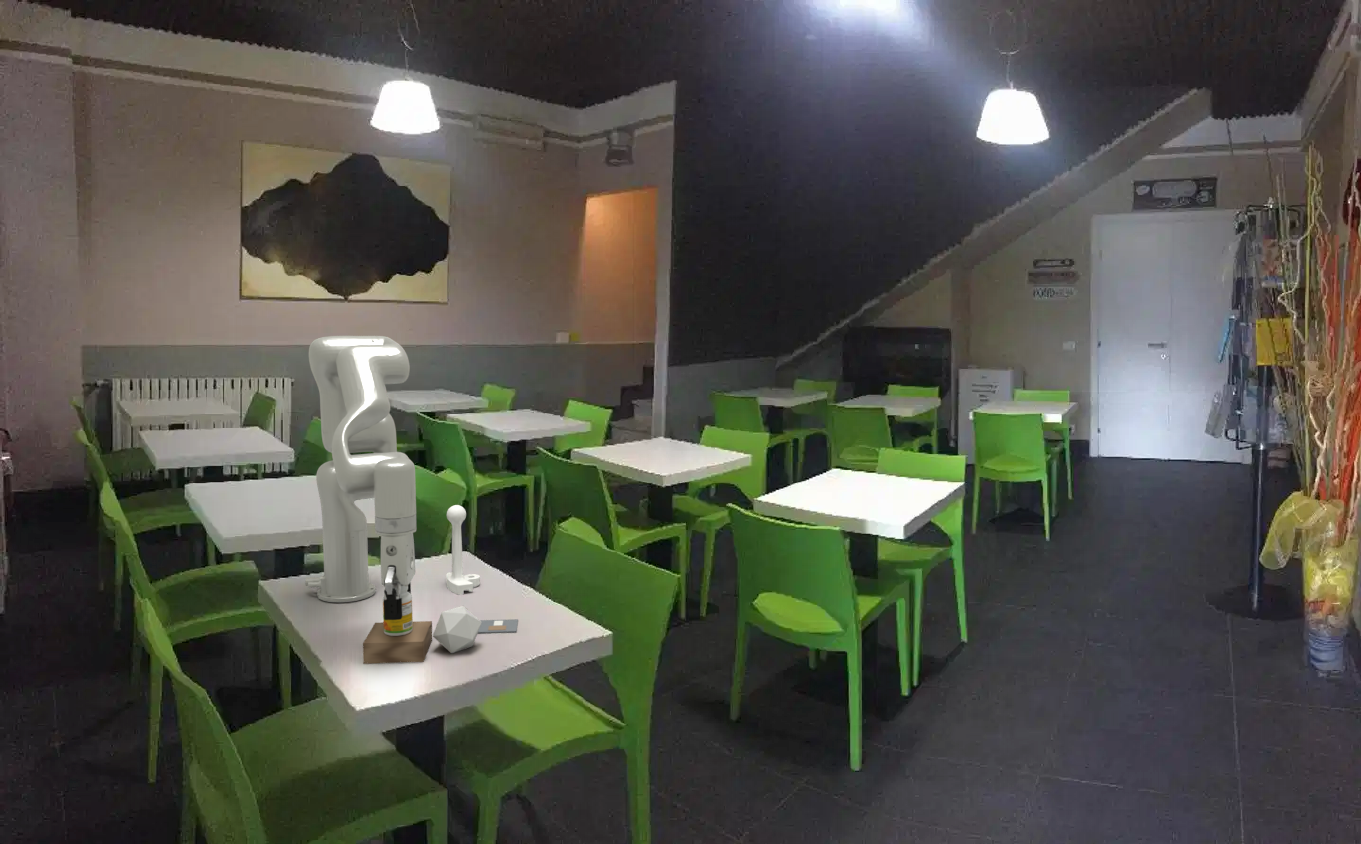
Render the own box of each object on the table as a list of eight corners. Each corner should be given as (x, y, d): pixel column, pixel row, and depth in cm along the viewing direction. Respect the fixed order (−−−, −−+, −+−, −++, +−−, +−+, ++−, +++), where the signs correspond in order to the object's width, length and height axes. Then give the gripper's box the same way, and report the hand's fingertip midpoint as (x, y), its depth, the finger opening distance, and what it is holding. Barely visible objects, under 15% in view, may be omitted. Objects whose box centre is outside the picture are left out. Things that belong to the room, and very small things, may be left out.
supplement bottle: (384, 627, 176) (383, 579, 175) (413, 625, 177) (412, 578, 176) (382, 637, 171) (381, 588, 170) (412, 635, 172) (411, 586, 171)
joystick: (442, 582, 218) (441, 501, 215) (473, 578, 221) (472, 498, 219) (453, 595, 208) (452, 511, 206) (485, 591, 212) (484, 508, 209)
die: (464, 639, 183) (434, 606, 180) (495, 624, 180) (465, 590, 177) (449, 667, 176) (417, 633, 173) (481, 653, 173) (449, 618, 170)
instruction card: (476, 633, 185) (476, 631, 185) (480, 621, 192) (480, 619, 191) (516, 632, 186) (516, 630, 186) (518, 620, 193) (518, 618, 192)
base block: (363, 663, 168) (362, 643, 168) (375, 641, 179) (375, 622, 179) (423, 661, 170) (423, 641, 169) (432, 640, 181) (431, 621, 180)
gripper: (408, 535, 163) (410, 625, 165) (423, 513, 180) (424, 595, 182) (365, 535, 162) (368, 626, 164) (384, 513, 179) (386, 596, 181)
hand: (398, 610), depth 173 cm, fingers open, 9 cm apart
